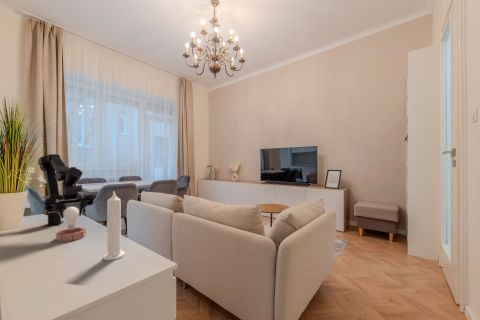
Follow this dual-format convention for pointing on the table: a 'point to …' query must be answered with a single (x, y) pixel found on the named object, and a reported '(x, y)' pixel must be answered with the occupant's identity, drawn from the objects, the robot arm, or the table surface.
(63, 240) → the holder
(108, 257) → the candle
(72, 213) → the lightbulb
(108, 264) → the table surface
